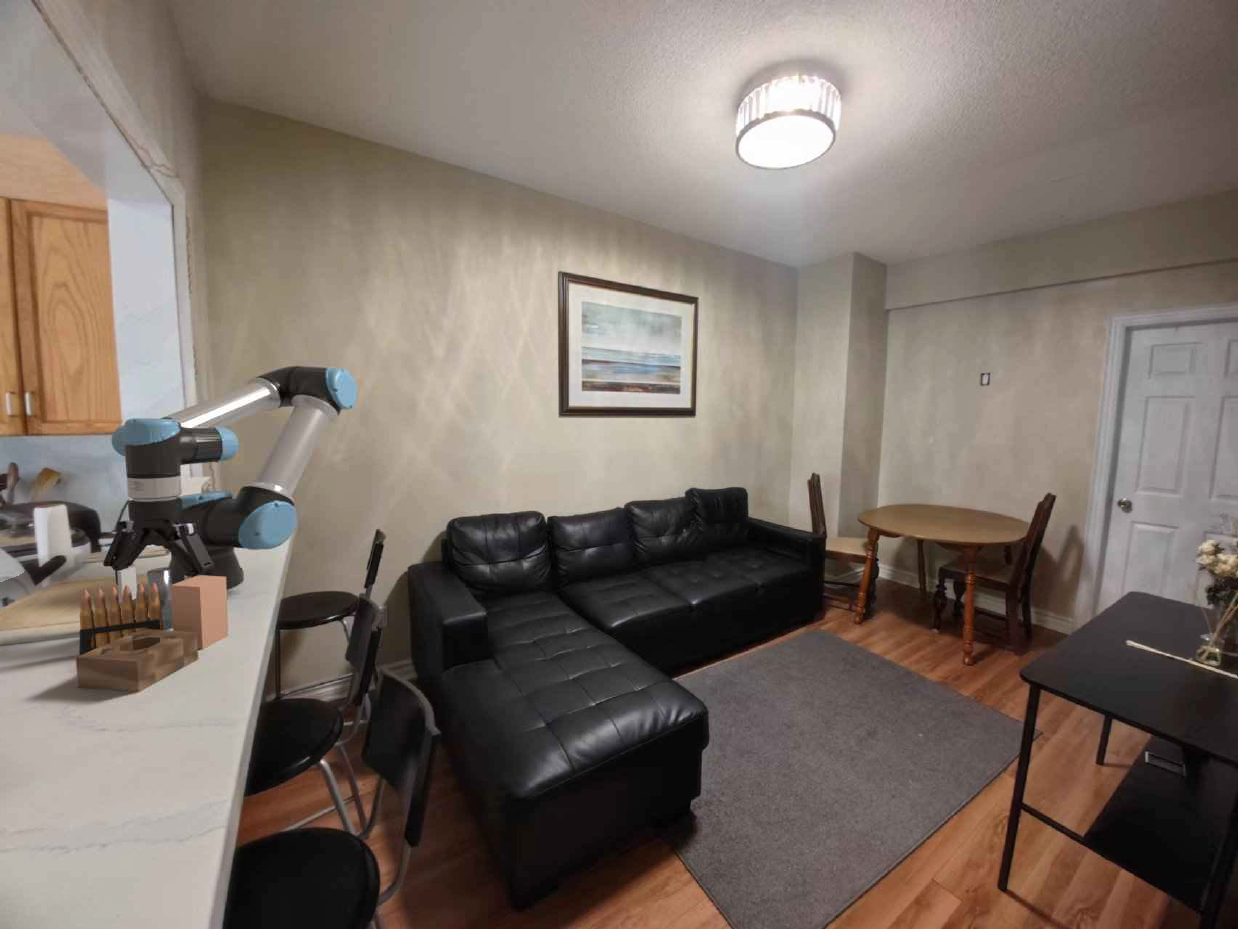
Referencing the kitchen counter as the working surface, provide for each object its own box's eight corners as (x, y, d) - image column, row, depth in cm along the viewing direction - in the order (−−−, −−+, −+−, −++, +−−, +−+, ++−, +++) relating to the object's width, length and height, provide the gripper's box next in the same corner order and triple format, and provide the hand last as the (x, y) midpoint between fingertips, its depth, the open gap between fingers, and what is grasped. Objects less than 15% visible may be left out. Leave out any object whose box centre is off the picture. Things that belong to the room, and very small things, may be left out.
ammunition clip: (79, 658, 83) (74, 592, 81) (84, 653, 84) (79, 588, 83) (162, 645, 88) (158, 583, 87) (165, 641, 90) (161, 580, 88)
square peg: (201, 634, 93) (198, 575, 92) (228, 635, 93) (226, 576, 91) (174, 647, 87) (170, 585, 86) (202, 649, 87) (199, 587, 86)
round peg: (162, 623, 96) (159, 566, 95) (178, 624, 96) (176, 567, 95) (145, 631, 93) (142, 572, 92) (162, 632, 93) (159, 573, 91)
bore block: (144, 655, 84) (142, 628, 84) (198, 659, 84) (196, 632, 83) (78, 687, 74) (75, 657, 74) (139, 691, 74) (137, 661, 73)
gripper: (71, 497, 88) (79, 606, 91) (199, 505, 88) (204, 614, 90) (115, 491, 96) (121, 591, 98) (233, 498, 95) (237, 599, 97)
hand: (161, 603), depth 94 cm, fingers open, 13 cm apart
